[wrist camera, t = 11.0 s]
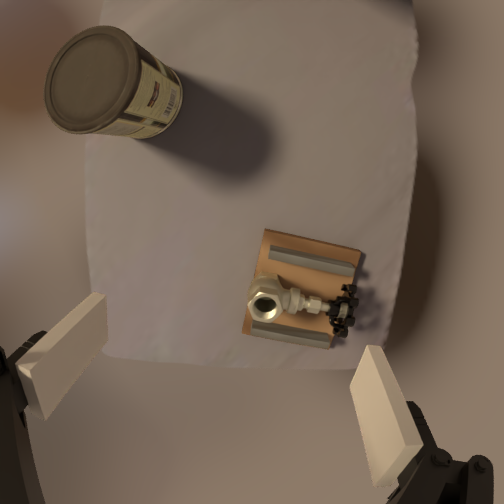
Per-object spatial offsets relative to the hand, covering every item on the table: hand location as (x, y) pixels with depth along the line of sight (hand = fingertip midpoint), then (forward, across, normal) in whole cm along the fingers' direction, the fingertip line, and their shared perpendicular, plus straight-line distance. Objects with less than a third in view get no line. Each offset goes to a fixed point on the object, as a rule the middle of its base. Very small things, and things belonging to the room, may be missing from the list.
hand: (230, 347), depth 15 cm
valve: (+24, +6, -7) cm, 26 cm away
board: (+25, +7, -7) cm, 27 cm away
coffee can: (+26, -17, +14) cm, 34 cm away
